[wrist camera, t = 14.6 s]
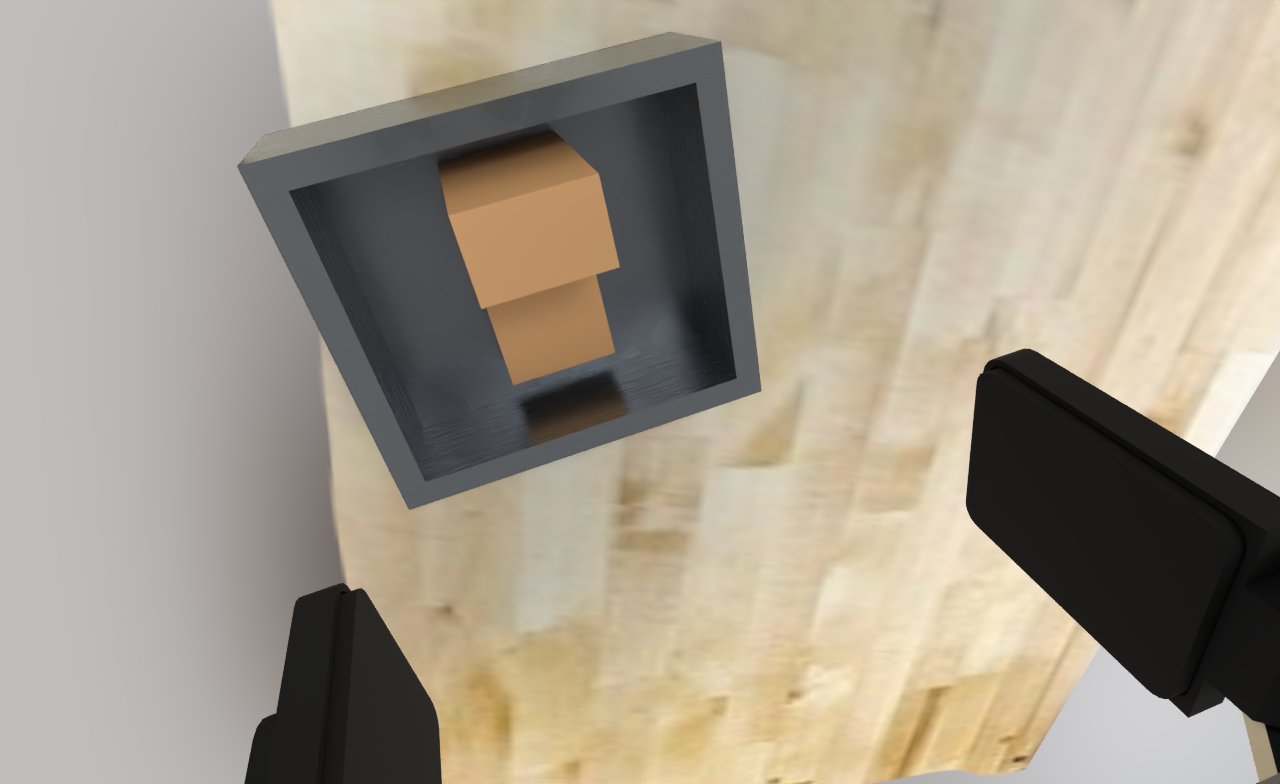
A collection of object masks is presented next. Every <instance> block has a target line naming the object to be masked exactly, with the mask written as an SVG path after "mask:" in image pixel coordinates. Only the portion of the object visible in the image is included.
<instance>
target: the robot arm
mask: <svg viewBox="0 0 1280 784" xmlns="http://www.w3.org/2000/svg"><path fill="white" fill-rule="evenodd" d="M966 507H967V511H968V513H969V515H970V517H971V519H972V520H973V522H974V523H975V524H976V525H977V526H978V527H979V528H980V529H981V530H982V531H983V532H984V533H985V534H986V535H987V536H988V537H989V538H990V539H991V540H992V541H993V542H994V543H995V544H996V545H997V546H998V547H1000V548H1001V549H1002V550H1003V551H1004V552H1005V553H1006V554H1007V555H1008V556H1009V557H1010V558H1011V559H1012V560H1013V561H1014V562H1015V563H1016V564H1017V565H1018V566H1019V567H1020V568H1021V569H1022V570H1023V571H1024V572H1026V573H1027V574H1028V575H1029V576H1030V577H1031V578H1032V579H1033V580H1034V581H1035V582H1036V583H1037V584H1038V585H1039V586H1040V587H1041V588H1042V589H1043V590H1044V591H1045V592H1046V593H1047V594H1048V595H1049V596H1051V597H1052V598H1053V599H1054V600H1055V601H1056V602H1057V603H1058V604H1059V605H1060V606H1061V607H1062V608H1063V609H1064V610H1065V611H1066V612H1067V613H1068V614H1069V615H1070V616H1071V617H1072V618H1073V619H1074V620H1075V621H1077V622H1078V623H1079V624H1080V625H1081V626H1082V627H1083V628H1084V629H1085V630H1086V631H1087V632H1088V633H1089V634H1090V635H1091V636H1092V637H1093V638H1094V639H1095V640H1096V641H1097V642H1098V643H1099V644H1100V645H1102V646H1103V647H1104V648H1105V649H1106V650H1107V651H1108V652H1109V653H1110V654H1111V655H1112V656H1113V657H1114V658H1115V659H1116V660H1117V661H1118V662H1119V663H1120V664H1121V665H1122V666H1123V667H1124V668H1126V670H1128V671H1129V672H1130V673H1131V674H1132V675H1133V676H1134V677H1135V678H1136V679H1137V680H1138V681H1139V682H1140V683H1141V684H1142V685H1143V686H1144V687H1145V688H1146V689H1147V690H1149V691H1150V692H1151V693H1152V694H1154V695H1156V696H1158V697H1159V698H1163V699H1169V700H1170V701H1171V702H1172V703H1173V704H1174V705H1175V706H1177V707H1178V708H1179V709H1180V710H1181V711H1182V712H1183V713H1184V714H1185V715H1186V716H1187V717H1191V716H1193V715H1196V714H1198V713H1200V712H1202V711H1204V710H1207V709H1209V708H1211V707H1213V706H1216V705H1218V704H1220V703H1222V702H1223V700H1224V698H1225V697H1226V698H1227V699H1229V700H1230V701H1231V702H1232V703H1233V704H1234V705H1235V706H1236V707H1238V708H1239V709H1240V710H1241V711H1242V712H1243V717H1244V721H1245V725H1246V729H1247V733H1248V737H1249V741H1250V745H1251V750H1252V753H1253V758H1254V762H1255V766H1256V770H1257V774H1258V778H1259V783H1256V784H1280V497H1279V496H1277V495H1276V494H1274V493H1272V492H1271V491H1269V490H1267V489H1265V488H1264V487H1262V486H1260V485H1259V484H1257V483H1255V482H1254V481H1252V480H1250V479H1249V478H1247V477H1245V476H1244V475H1242V474H1240V473H1239V472H1237V471H1235V470H1234V469H1232V468H1230V467H1229V466H1227V465H1225V464H1223V463H1222V462H1220V461H1219V460H1217V459H1215V458H1214V457H1212V456H1210V455H1209V454H1207V453H1205V452H1204V451H1202V450H1200V449H1199V448H1197V447H1195V446H1193V445H1192V444H1190V443H1188V442H1187V441H1185V440H1183V439H1182V438H1180V437H1178V436H1177V435H1175V434H1173V433H1172V432H1170V431H1168V430H1167V429H1165V428H1163V427H1162V426H1160V425H1158V424H1157V423H1155V422H1153V421H1152V420H1150V419H1148V418H1147V417H1145V416H1143V415H1142V414H1140V413H1138V412H1137V411H1135V410H1133V409H1132V408H1130V407H1128V406H1127V405H1125V404H1123V403H1121V402H1120V401H1118V400H1116V399H1115V398H1113V397H1111V396H1110V395H1108V394H1106V393H1105V392H1103V391H1101V390H1100V389H1098V388H1096V387H1095V386H1093V385H1091V384H1090V383H1088V382H1086V381H1085V380H1083V379H1081V378H1080V377H1078V376H1076V375H1075V374H1073V373H1071V372H1070V371H1068V370H1066V369H1065V368H1063V367H1061V366H1060V365H1058V364H1056V363H1055V362H1053V361H1051V360H1050V359H1048V358H1046V357H1044V356H1043V355H1041V354H1039V353H1038V352H1036V351H1034V350H1031V349H1021V350H1018V351H1016V352H1013V353H1010V354H1007V355H1004V356H1001V357H998V358H995V359H992V360H990V361H988V363H987V364H986V365H985V367H984V371H983V373H982V374H980V376H979V377H978V380H977V386H976V397H975V408H974V419H973V429H972V440H971V451H970V462H969V473H968V484H967V494H966ZM245 784H442V779H441V759H440V739H439V724H438V719H437V714H436V711H435V708H434V705H433V703H432V701H431V699H430V697H429V696H428V694H427V692H426V691H425V689H424V687H423V686H422V684H421V683H420V681H419V679H418V678H417V676H416V674H415V673H414V671H413V669H412V668H411V666H410V664H409V663H408V661H407V659H406V658H405V656H404V654H403V653H402V651H401V649H400V648H399V646H398V644H397V643H396V641H395V639H394V638H393V636H392V635H391V633H390V631H389V630H388V628H387V626H386V625H385V623H384V621H383V620H382V618H381V616H380V615H379V613H378V611H377V610H376V608H375V606H374V605H373V603H372V601H371V600H370V598H369V596H368V595H367V593H366V592H365V591H364V590H363V589H362V588H359V589H356V590H353V591H351V590H350V589H349V588H348V586H347V585H345V584H344V583H341V584H337V585H335V586H331V587H328V588H326V589H323V590H320V591H317V592H314V593H311V594H308V595H305V596H302V597H300V598H298V600H297V601H296V603H295V607H294V612H293V618H292V623H291V629H290V636H289V641H288V647H287V653H286V659H285V665H284V671H283V677H282V682H281V688H280V694H279V700H278V706H277V713H276V714H273V715H270V716H268V717H266V718H264V719H263V720H262V721H261V723H260V724H259V725H258V727H257V729H256V732H255V735H254V738H253V742H252V747H251V753H250V758H249V763H248V768H247V773H246V779H245Z"/></svg>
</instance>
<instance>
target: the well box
mask: <svg viewBox="0 0 1280 784" xmlns="http://www.w3.org/2000/svg"><path fill="white" fill-rule="evenodd" d="M551 132H556V133H557V134H558V135H559V136H560V137H561V138H562V139H563V140H564V141H565V142H566V143H567V144H569V145H570V146H571V147H572V148H573V149H574V150H575V151H576V152H577V153H578V154H579V155H580V156H581V157H582V158H583V159H584V160H585V161H586V162H587V163H588V164H589V165H590V166H592V167H593V168H594V169H595V170H596V171H597V172H598V173H599V177H600V181H601V186H602V190H603V194H604V199H605V203H606V208H607V212H608V217H609V221H610V226H611V230H612V234H613V239H614V243H615V248H616V252H617V257H618V261H619V266H620V267H619V268H616V269H612V270H609V271H606V272H602V273H599V274H596V276H597V281H598V285H599V289H600V293H601V297H602V301H603V305H604V309H605V313H606V317H607V321H608V325H609V329H610V333H611V337H612V341H613V345H614V350H615V353H613V354H610V355H607V356H604V357H600V358H597V359H594V360H591V361H588V362H585V363H582V364H579V365H576V366H572V367H569V368H566V369H563V370H560V371H557V372H554V373H551V374H547V375H544V376H541V377H538V378H535V379H532V380H529V381H526V382H523V383H519V384H516V385H513V383H512V380H511V377H510V374H509V371H508V368H507V366H506V363H505V360H504V357H503V354H502V351H501V348H500V345H499V343H498V340H497V337H496V334H495V331H494V328H493V325H492V323H491V320H490V317H489V314H488V311H487V308H484V309H481V307H480V304H479V301H478V298H477V295H476V293H475V290H474V287H473V284H472V281H471V278H470V276H469V273H468V270H467V267H466V264H465V261H464V259H463V256H462V253H461V250H460V247H459V244H458V242H457V239H456V236H455V233H454V230H453V227H452V225H451V222H450V219H449V216H448V212H447V207H446V202H445V198H444V193H443V188H442V183H441V179H440V174H439V169H438V165H437V163H440V162H444V161H448V160H451V159H455V158H459V157H462V156H466V155H470V154H474V153H477V152H481V151H485V150H488V149H492V148H496V147H499V146H503V145H507V144H510V143H514V142H518V141H522V140H525V139H529V138H533V137H536V136H540V135H544V134H547V133H551ZM237 167H238V169H239V171H240V173H241V175H242V177H243V179H244V181H245V183H246V184H247V187H248V189H249V191H250V193H251V195H252V197H253V199H254V201H255V203H256V205H257V207H258V209H259V211H260V213H261V215H262V217H263V219H264V221H265V223H266V225H267V227H268V229H269V231H270V233H271V235H272V237H273V239H274V241H275V243H276V245H277V247H278V249H279V251H280V253H281V255H282V257H283V259H284V261H285V263H286V265H287V267H288V269H289V271H290V273H291V275H292V277H293V279H294V281H295V283H296V285H297V287H298V289H299V291H300V293H301V295H302V297H303V299H304V301H305V303H306V305H307V307H308V309H309V311H310V313H311V315H312V317H313V319H314V321H315V323H316V325H317V327H318V329H319V331H320V333H321V335H322V337H323V339H324V341H325V343H326V345H327V347H328V349H329V351H330V353H331V355H332V357H333V359H334V361H335V363H336V365H337V367H338V369H339V371H340V373H341V375H342V377H343V379H344V381H345V383H346V385H347V387H348V389H349V391H350V393H351V395H352V397H353V399H354V401H355V403H356V405H357V407H358V409H359V411H360V413H361V415H362V417H363V419H364V421H365V423H366V425H367V427H368V429H369V431H370V433H371V435H372V437H373V439H374V441H375V443H376V445H377V447H378V449H379V451H380V453H381V455H382V457H383V459H384V461H385V463H386V465H387V467H388V469H389V471H390V473H391V475H392V477H393V479H394V481H395V483H396V485H397V487H398V489H399V491H400V493H401V495H402V497H403V499H404V501H405V503H406V505H407V507H408V509H409V510H411V509H414V508H417V507H420V506H423V505H426V504H429V503H432V502H434V501H437V500H440V499H443V498H446V497H449V496H452V495H455V494H458V493H461V492H464V491H467V490H470V489H473V488H476V487H479V486H482V485H485V484H488V483H491V482H494V481H497V480H500V479H503V478H506V477H509V476H511V475H514V474H517V473H520V472H523V471H526V470H529V469H532V468H535V467H538V466H541V465H544V464H547V463H550V462H553V461H556V460H559V459H562V458H565V457H568V456H571V455H574V454H577V453H580V452H583V451H586V450H588V449H591V448H594V447H597V446H600V445H603V444H606V443H609V442H612V441H615V440H618V439H621V438H624V437H627V436H630V435H633V434H636V433H639V432H642V431H645V430H648V429H651V428H654V427H657V426H660V425H663V424H665V423H668V422H671V421H674V420H677V419H680V418H683V417H686V416H689V415H692V414H695V413H698V412H701V411H704V410H707V409H710V408H713V407H716V406H719V405H722V404H725V403H728V402H731V401H734V400H737V399H740V398H742V397H745V396H748V395H751V394H754V393H757V392H760V391H761V383H760V374H759V365H758V357H757V348H756V340H755V331H754V322H753V314H752V305H751V296H750V288H749V279H748V271H747V262H746V253H745V245H744V236H743V227H742V219H741V210H740V202H739V193H738V184H737V176H736V167H735V158H734V150H733V141H732V133H731V124H730V115H729V107H728V98H727V89H726V81H725V72H724V64H723V55H722V46H721V41H717V40H711V39H706V38H701V37H695V36H690V35H684V34H679V33H673V32H668V33H665V34H661V35H657V36H653V37H649V38H645V39H641V40H637V41H633V42H629V43H625V44H621V45H617V46H613V47H609V48H605V49H601V50H598V51H594V52H590V53H586V54H582V55H578V56H574V57H570V58H566V59H562V60H558V61H554V62H550V63H546V64H542V65H538V66H534V67H531V68H527V69H523V70H519V71H515V72H511V73H507V74H503V75H499V76H495V77H491V78H487V79H483V80H479V81H475V82H471V83H467V84H464V85H460V86H456V87H452V88H448V89H444V90H440V91H436V92H432V93H428V94H424V95H420V96H416V97H412V98H408V99H404V100H400V101H397V102H393V103H389V104H385V105H381V106H377V107H373V108H369V109H365V110H361V111H357V112H353V113H349V114H345V115H341V116H337V117H333V118H330V119H326V120H322V121H318V122H314V123H310V124H306V125H302V126H298V127H294V128H290V129H286V130H282V131H278V132H275V133H270V134H266V135H264V136H263V138H262V139H261V140H260V141H259V142H258V143H257V144H256V145H255V147H254V148H253V149H252V150H251V151H250V152H249V153H248V154H247V156H246V157H245V158H244V159H243V160H242V161H241V162H240V164H239V165H238V166H237Z"/></svg>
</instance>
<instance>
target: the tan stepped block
mask: <svg viewBox="0 0 1280 784" xmlns="http://www.w3.org/2000/svg"><path fill="white" fill-rule="evenodd" d="M437 165H438V169H439V174H440V179H441V183H442V188H443V193H444V198H445V202H446V207H447V212H448V216H449V219H450V222H451V225H452V227H453V230H454V233H455V236H456V239H457V242H458V244H459V247H460V250H461V253H462V256H463V259H464V261H465V264H466V267H467V270H468V273H469V276H470V278H471V281H472V284H473V287H474V290H475V293H476V295H477V298H478V301H479V304H480V307H481V309H484V308H487V311H488V314H489V317H490V320H491V323H492V325H493V328H494V331H495V334H496V337H497V340H498V343H499V345H500V348H501V351H502V354H503V357H504V360H505V363H506V366H507V368H508V371H509V374H510V377H511V380H512V383H513V385H516V384H519V383H523V382H526V381H529V380H532V379H535V378H538V377H541V376H544V375H547V374H551V373H554V372H557V371H560V370H563V369H566V368H569V367H572V366H576V365H579V364H582V363H585V362H588V361H591V360H594V359H597V358H600V357H604V356H607V355H610V354H613V353H615V350H614V345H613V341H612V337H611V333H610V329H609V325H608V321H607V317H606V313H605V309H604V305H603V301H602V297H601V293H600V289H599V285H598V281H597V276H596V274H599V273H602V272H606V271H609V270H612V269H616V268H619V267H620V266H619V261H618V257H617V252H616V248H615V243H614V239H613V234H612V230H611V226H610V221H609V217H608V212H607V208H606V203H605V199H604V194H603V190H602V186H601V181H600V177H599V173H598V172H597V171H596V170H595V169H594V168H593V167H592V166H590V165H589V164H588V163H587V162H586V161H585V160H584V159H583V158H582V157H581V156H580V155H579V154H578V153H577V152H576V151H575V150H574V149H573V148H572V147H571V146H570V145H569V144H567V143H566V142H565V141H564V140H563V139H562V138H561V137H560V136H559V135H558V134H557V133H556V132H551V133H547V134H544V135H540V136H536V137H533V138H529V139H525V140H522V141H518V142H514V143H510V144H507V145H503V146H499V147H496V148H492V149H488V150H485V151H481V152H477V153H474V154H470V155H466V156H462V157H459V158H455V159H451V160H448V161H444V162H440V163H437Z"/></svg>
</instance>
